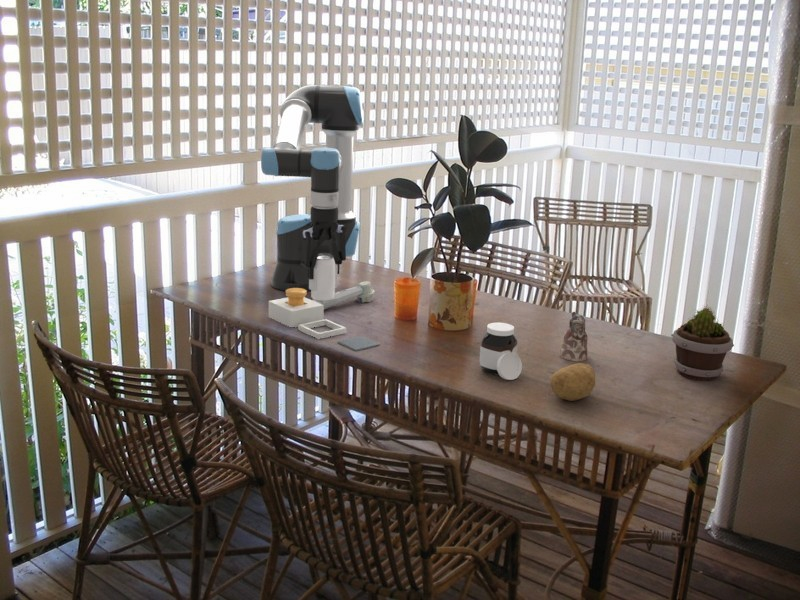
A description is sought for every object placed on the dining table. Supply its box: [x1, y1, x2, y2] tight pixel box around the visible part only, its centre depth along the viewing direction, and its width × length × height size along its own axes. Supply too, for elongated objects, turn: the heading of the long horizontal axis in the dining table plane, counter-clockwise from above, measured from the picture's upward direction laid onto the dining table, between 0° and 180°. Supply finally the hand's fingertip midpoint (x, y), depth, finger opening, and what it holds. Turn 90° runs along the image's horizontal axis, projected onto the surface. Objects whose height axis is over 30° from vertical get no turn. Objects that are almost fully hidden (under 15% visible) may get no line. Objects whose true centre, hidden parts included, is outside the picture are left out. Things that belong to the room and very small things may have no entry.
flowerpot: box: [670, 304, 735, 381], centre depth 225 cm, size 14×15×20 cm
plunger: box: [285, 288, 308, 306], centre depth 255 cm, size 6×6×8 cm
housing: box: [268, 296, 347, 340], centre depth 252 cm, size 11×24×5 cm, turn 41°
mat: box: [337, 335, 380, 352], centre depth 239 cm, size 8×8×1 cm
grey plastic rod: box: [312, 280, 376, 311], centre depth 271 cm, size 5×7×25 cm
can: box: [310, 254, 336, 301], centre depth 243 cm, size 6×6×12 cm
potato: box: [550, 362, 596, 402], centre depth 208 cm, size 10×14×8 cm
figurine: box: [559, 311, 589, 362], centre depth 235 cm, size 7×7×12 cm
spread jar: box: [479, 322, 523, 381], centre depth 221 cm, size 12×11×12 cm
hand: (323, 287), depth 244 cm, fingers closed on can, 6 cm apart
